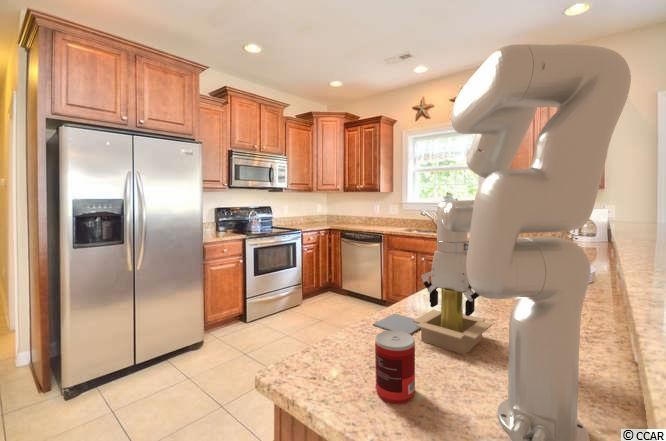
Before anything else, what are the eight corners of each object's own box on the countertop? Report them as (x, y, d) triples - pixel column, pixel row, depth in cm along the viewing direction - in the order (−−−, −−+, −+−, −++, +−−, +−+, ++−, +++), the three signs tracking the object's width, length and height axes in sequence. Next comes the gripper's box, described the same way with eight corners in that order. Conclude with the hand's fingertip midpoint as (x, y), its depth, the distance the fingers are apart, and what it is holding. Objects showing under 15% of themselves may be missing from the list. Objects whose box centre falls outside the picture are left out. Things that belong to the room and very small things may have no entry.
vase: (466, 346, 82) (466, 291, 81) (441, 344, 83) (441, 291, 82) (461, 336, 88) (461, 285, 87) (438, 334, 89) (438, 284, 88)
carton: (470, 362, 74) (470, 341, 74) (408, 341, 86) (408, 323, 85) (495, 339, 86) (495, 321, 85) (437, 323, 97) (437, 307, 97)
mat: (407, 336, 88) (407, 334, 88) (372, 325, 97) (372, 323, 97) (428, 324, 97) (428, 322, 97) (395, 314, 105) (395, 313, 105)
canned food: (408, 380, 67) (408, 329, 66) (420, 404, 59) (420, 346, 58) (372, 381, 67) (372, 330, 66) (379, 405, 59) (378, 348, 58)
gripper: (491, 248, 81) (489, 314, 82) (428, 242, 93) (428, 299, 94) (480, 253, 75) (478, 322, 77) (415, 245, 88) (415, 306, 89)
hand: (450, 310), depth 86 cm, fingers open, 9 cm apart
